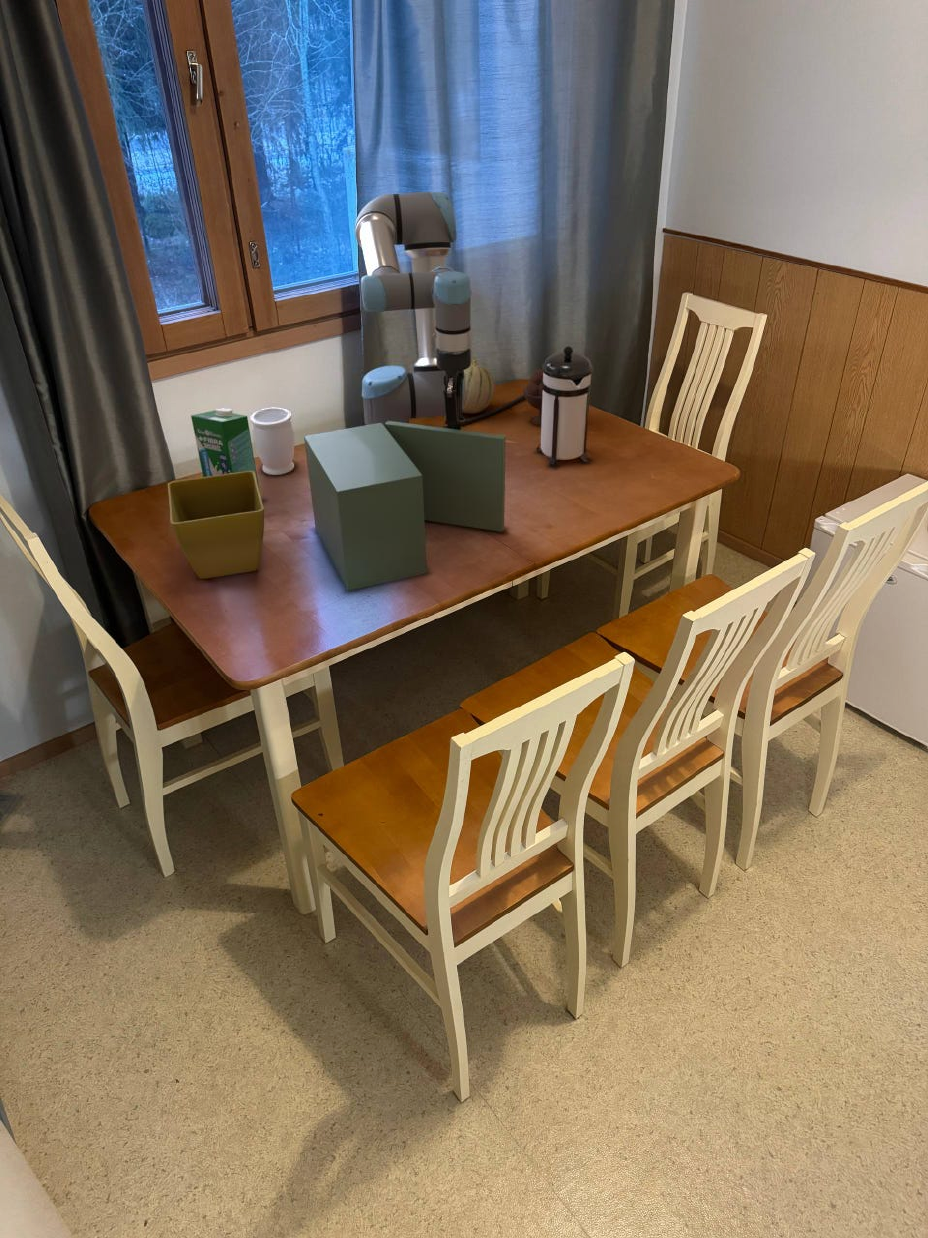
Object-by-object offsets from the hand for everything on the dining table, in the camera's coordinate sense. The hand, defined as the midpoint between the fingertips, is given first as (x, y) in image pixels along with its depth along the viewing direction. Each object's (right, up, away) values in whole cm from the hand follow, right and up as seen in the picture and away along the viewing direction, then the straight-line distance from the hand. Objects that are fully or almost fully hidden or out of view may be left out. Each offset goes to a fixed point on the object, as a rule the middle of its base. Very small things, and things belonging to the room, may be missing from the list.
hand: (454, 448), depth 214 cm
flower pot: (-51, -26, -5) cm, 58 cm away
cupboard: (-20, -24, -2) cm, 31 cm away
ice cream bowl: (+25, +17, +53) cm, 61 cm away
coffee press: (+28, +5, +36) cm, 46 cm away
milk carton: (-54, -11, +16) cm, 58 cm away
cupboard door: (-1, -14, +10) cm, 17 cm away
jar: (-47, 0, +32) cm, 57 cm away
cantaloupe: (+4, +22, +59) cm, 63 cm away
